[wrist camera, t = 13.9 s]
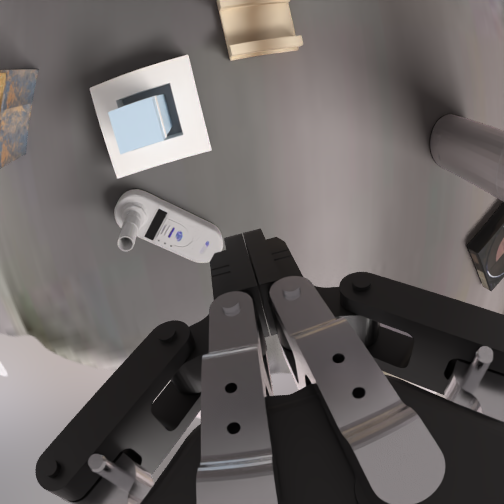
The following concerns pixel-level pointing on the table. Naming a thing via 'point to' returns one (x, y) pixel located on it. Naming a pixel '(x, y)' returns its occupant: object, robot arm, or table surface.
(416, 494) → the robot arm
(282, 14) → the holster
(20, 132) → the marbled rust block
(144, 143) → the plug
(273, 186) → the table surface
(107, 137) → the socket
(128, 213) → the electronic device
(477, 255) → the portable cd player
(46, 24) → the table surface
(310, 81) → the table surface
